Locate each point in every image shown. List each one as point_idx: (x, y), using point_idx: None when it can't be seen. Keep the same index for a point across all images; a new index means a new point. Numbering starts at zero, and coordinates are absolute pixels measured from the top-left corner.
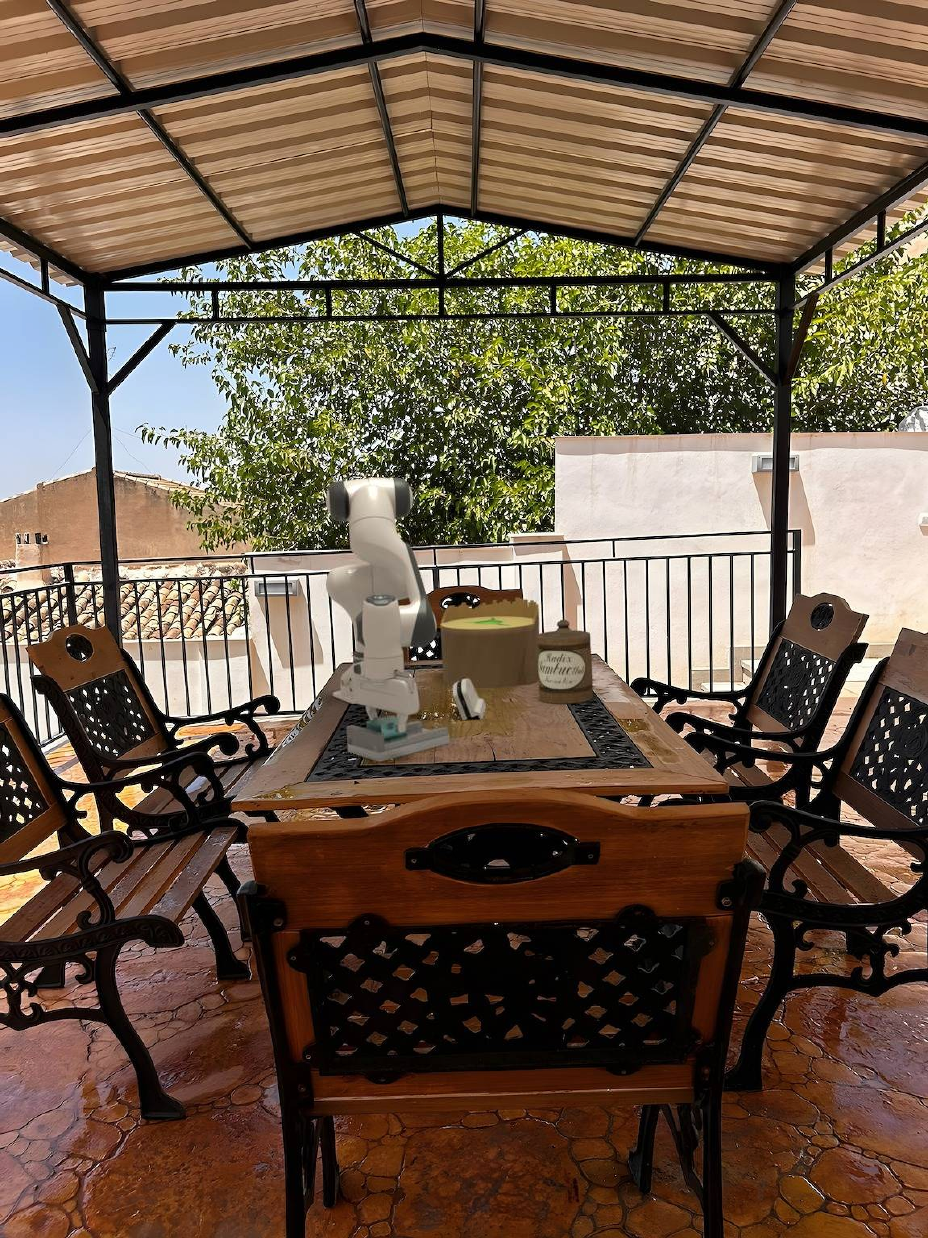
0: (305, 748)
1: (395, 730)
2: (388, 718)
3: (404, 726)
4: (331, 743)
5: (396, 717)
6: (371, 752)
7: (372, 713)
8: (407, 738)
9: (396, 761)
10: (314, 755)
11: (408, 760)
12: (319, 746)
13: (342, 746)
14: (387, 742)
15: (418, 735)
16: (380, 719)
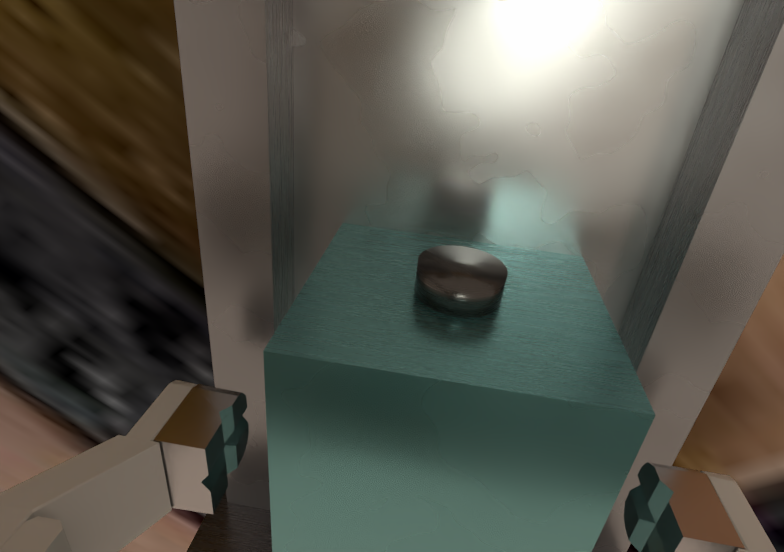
0: (26, 475)
1: (631, 528)
2: (372, 476)
3: (755, 530)
4: (4, 362)
5: (424, 399)
6: None
7: (110, 523)
8: (707, 394)
9: (684, 461)
10: (180, 531)
11: (760, 419)
12: (30, 427)
13: (113, 377)
14: (609, 539)
15: (774, 264)
16: (327, 533)
